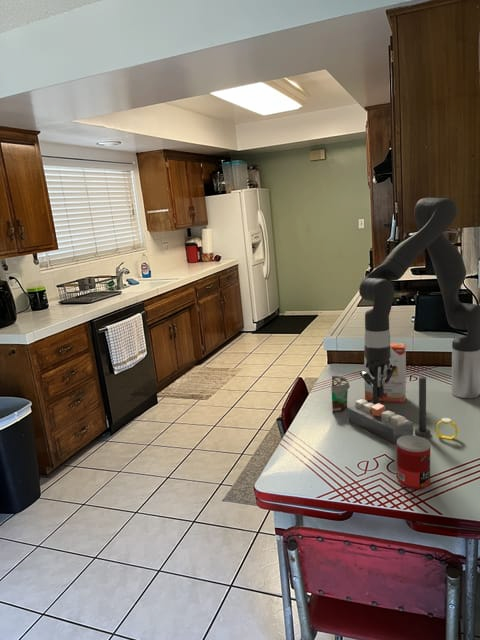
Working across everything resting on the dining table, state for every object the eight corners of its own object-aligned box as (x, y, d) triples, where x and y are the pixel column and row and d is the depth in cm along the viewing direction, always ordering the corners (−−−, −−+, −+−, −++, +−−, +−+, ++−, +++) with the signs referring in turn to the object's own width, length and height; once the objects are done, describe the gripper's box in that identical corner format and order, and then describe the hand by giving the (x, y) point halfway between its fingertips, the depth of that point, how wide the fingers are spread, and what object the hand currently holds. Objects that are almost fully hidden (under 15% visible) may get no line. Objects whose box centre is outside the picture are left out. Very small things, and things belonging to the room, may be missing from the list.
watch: (435, 439, 143) (434, 420, 142) (437, 435, 146) (435, 417, 145) (457, 441, 140) (456, 422, 139) (458, 437, 142) (457, 418, 141)
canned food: (426, 493, 117) (426, 451, 114) (393, 485, 121) (392, 445, 119) (433, 477, 123) (433, 438, 121) (401, 471, 127) (400, 432, 125)
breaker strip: (367, 416, 162) (366, 396, 161) (413, 437, 145) (412, 416, 143) (348, 422, 159) (347, 402, 157) (393, 445, 141) (393, 423, 140)
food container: (350, 414, 164) (349, 387, 162) (332, 414, 166) (331, 387, 164) (350, 400, 176) (349, 375, 174) (333, 400, 178) (331, 375, 175)
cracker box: (364, 401, 175) (363, 345, 170) (366, 395, 180) (365, 341, 176) (405, 403, 170) (404, 347, 165) (406, 397, 175) (405, 342, 171)
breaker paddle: (379, 409, 152) (378, 403, 152) (385, 412, 150) (384, 405, 149) (372, 413, 151) (371, 407, 151) (378, 416, 149) (377, 409, 148)
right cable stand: (422, 429, 149) (421, 374, 146) (433, 434, 146) (433, 378, 142) (411, 433, 147) (411, 377, 144) (423, 438, 144) (423, 381, 140)
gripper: (384, 337, 152) (385, 388, 156) (352, 345, 146) (354, 398, 150) (402, 341, 145) (403, 395, 149) (369, 350, 140) (370, 405, 143)
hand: (378, 396), depth 149 cm, fingers closed
